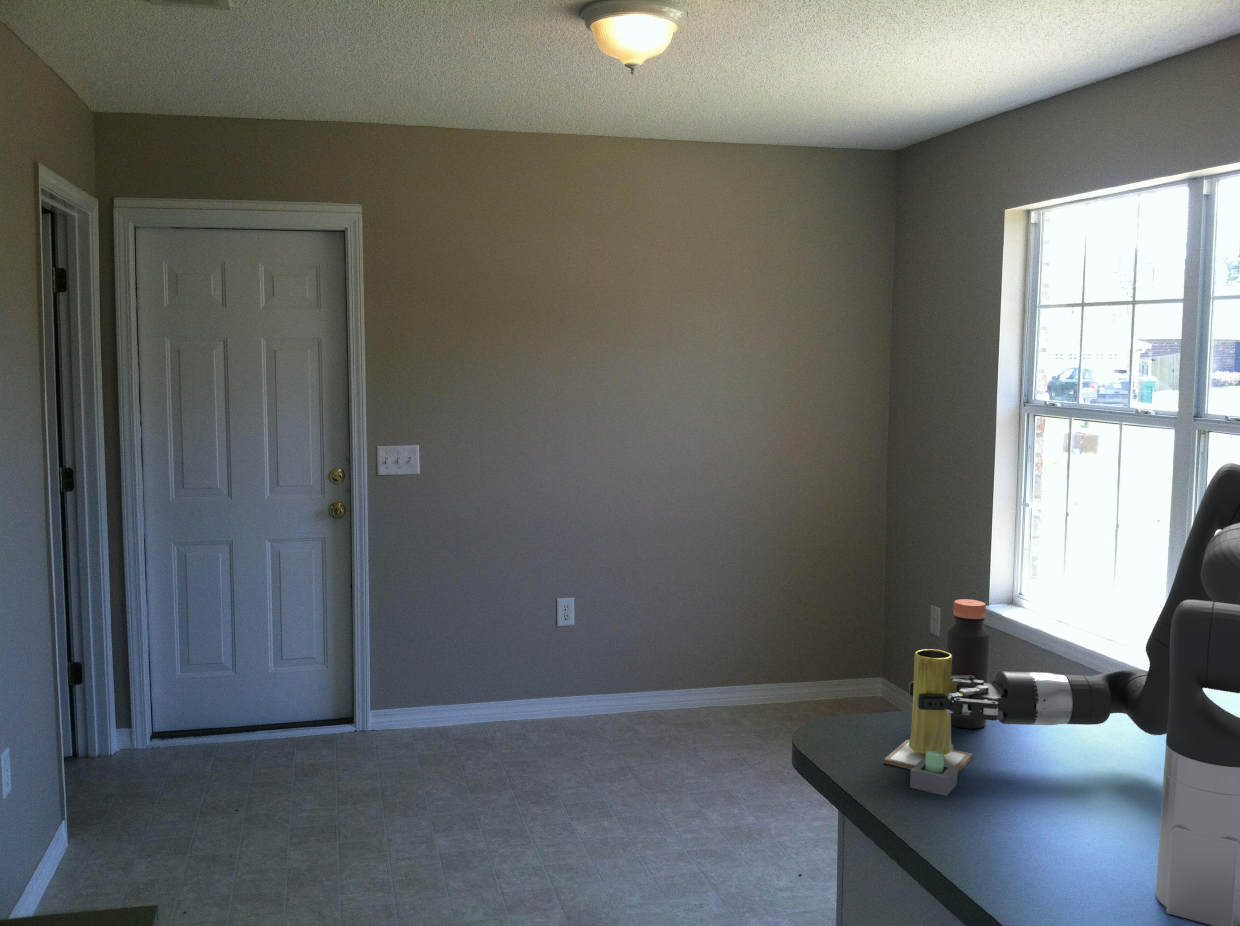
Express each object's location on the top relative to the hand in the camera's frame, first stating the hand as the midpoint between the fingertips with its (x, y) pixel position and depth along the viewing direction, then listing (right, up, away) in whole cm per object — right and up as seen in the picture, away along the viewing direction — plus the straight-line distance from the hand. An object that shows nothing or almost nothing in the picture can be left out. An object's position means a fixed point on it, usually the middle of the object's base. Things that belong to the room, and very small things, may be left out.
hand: (914, 694), depth 153 cm
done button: (0, -9, -9) cm, 13 cm away
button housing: (0, -11, -9) cm, 14 cm away
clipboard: (+2, -10, +1) cm, 10 cm away
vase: (+2, -8, +1) cm, 9 cm away
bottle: (+13, -9, +18) cm, 24 cm away
